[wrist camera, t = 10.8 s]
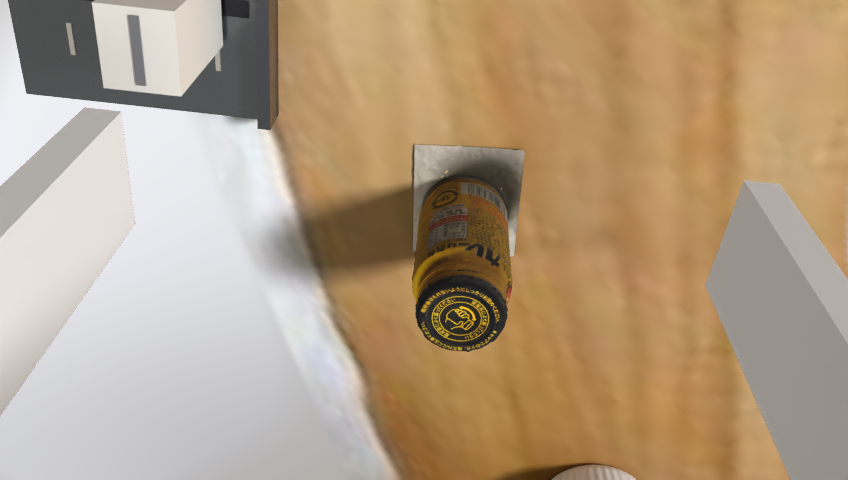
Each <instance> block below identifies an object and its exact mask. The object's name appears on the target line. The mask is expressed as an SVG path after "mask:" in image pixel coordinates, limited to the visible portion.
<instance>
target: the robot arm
mask: <svg viewBox="0 0 848 480" xmlns="http://www.w3.org/2000/svg"><path fill="white" fill-rule="evenodd" d="M134 225H135V217H134V209H133V201H132V193H131V186H130V177H129V170H128V162H127V154H126V146H125V138H124V131H123V123H122V116H121V112H119V111H110V110H101V109H91V108H84V109H82V110H81V111H80V112H79V113H78V114H77V115H76V116H75V117H74V118H73V119H72V120H71V121H70V122H69V123H68V124H66V125H65V126H64V127H63V128H62V129H61V130H60V131H59V132H58V133H57V134H56V135H55V136H54V137H53V138H52V139H50V140H49V141H48V142H47V143H46V144H45V145H44V146H43V147H42V148H41V149H40V150H39V151H38V152H36V154H34V155H33V156H32V157H31V158H30V159H29V160H28V161H27V162H26V163H25V164H24V165H23V166H21V167H20V169H18V170H17V171H16V172H15V173H14V174H13V175H12V176H11V177H10V178H9V179H8V180H7V181H5V182H4V183H3V184H2V185H1V186H0V416H1V414H2V413H3V411H4V410H5V409H6V407H7V406H8V404H9V403H10V401H11V400H12V399H13V397H14V396H15V394H16V393H17V392H18V390H19V389H20V387H21V386H22V384H23V383H24V382H25V380H26V379H27V377H28V376H29V374H30V373H31V372H32V370H33V369H34V367H35V366H36V364H37V363H38V362H39V360H40V359H41V357H42V356H43V355H44V353H45V352H46V350H47V349H48V347H49V346H50V345H51V343H52V342H53V340H54V339H55V337H56V336H57V335H58V333H59V332H60V330H61V329H62V327H63V326H64V325H65V323H66V322H67V320H68V319H69V317H70V316H71V315H72V313H73V312H74V310H75V309H76V308H77V306H78V305H79V303H80V302H81V300H82V299H83V297H84V296H85V295H86V293H87V292H88V290H89V289H90V288H91V286H92V285H93V283H94V282H95V280H96V279H97V277H98V276H99V275H100V273H101V272H102V270H103V269H104V268H105V266H106V265H107V263H108V262H109V260H110V259H111V258H112V256H113V255H114V253H115V252H116V250H117V249H118V248H119V246H120V245H121V243H122V242H123V241H124V239H125V238H126V236H127V235H128V233H129V232H130V230H131V229H132V228H133V226H134ZM705 286H706V288H707V290H708V293H709V295H710V297H711V300H712V302H713V304H714V306H715V309H716V311H717V313H718V316H719V318H720V320H721V322H722V325H723V327H724V329H725V332H726V334H727V336H728V338H729V341H730V343H731V345H732V348H733V350H734V352H735V354H736V357H737V359H738V361H739V363H740V366H741V368H742V370H743V373H744V375H745V377H746V379H747V382H748V384H749V386H750V389H751V391H752V393H753V395H754V398H755V400H756V402H757V405H758V407H759V409H760V411H761V414H762V416H763V418H764V421H765V423H766V425H767V427H768V430H769V432H770V434H771V436H772V439H773V441H774V443H775V446H776V448H777V450H778V452H779V455H780V457H781V459H782V462H783V464H784V466H785V468H786V471H787V473H788V475H789V478H790V480H848V279H847V278H846V276H845V275H844V273H843V272H842V271H841V269H840V268H839V266H838V265H837V264H836V262H835V261H834V259H833V258H832V256H831V255H830V254H829V252H828V251H827V249H826V248H825V247H824V245H823V244H822V242H821V241H820V240H819V238H818V237H817V235H816V234H815V233H814V231H813V230H812V228H811V227H810V226H809V224H808V223H807V221H806V220H805V219H804V217H803V216H802V214H801V213H800V212H799V210H798V209H797V207H796V206H795V204H794V203H793V202H792V200H791V199H790V197H789V196H788V195H787V193H786V192H785V190H784V189H783V188H782V186H781V185H780V184H773V183H764V182H755V181H746V180H744V182H743V185H742V187H741V190H740V193H739V196H738V198H737V201H736V204H735V206H734V209H733V212H732V214H731V217H730V220H729V223H728V225H727V228H726V231H725V233H724V236H723V239H722V242H721V244H720V247H719V250H718V252H717V255H716V258H715V261H714V263H713V266H712V269H711V271H710V274H709V277H708V279H707V282H706V285H705Z"/></svg>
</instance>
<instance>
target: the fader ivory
mask: <svg viewBox="0 0 848 480" xmlns="http://www.w3.org/2000/svg"><path fill="white" fill-rule="evenodd" d="M92 8H93V15H94V22H95V29H96V37H97V44H98V51H99V58H100V65H101V72H102V80H103V87H104V88H108V89H117V90H126V91H135V92H144V93H153V94H162V95H171V96H182V95H183V94H184V93H185V91H186V90H187V89H188V88H189V86H190V85H191V84H192V83H193V82H194V80H195V79H196V78H197V77H198V76H199V74H200V73H201V72H202V71H203V70H204V68H205V67H206V66H207V65H208V63H209V62H210V61H211V60H212V59H213V57H214V56H215V55H216V54H217V53H218V51H219V50H220V49H221V48H222V47H223V32H222V11H221V0H94V1H93V2H92Z"/></svg>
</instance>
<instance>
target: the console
mask: <svg viewBox="0 0 848 480" xmlns="http://www.w3.org/2000/svg"><path fill="white" fill-rule="evenodd" d="M93 1H94V0H8V3H9V8H10V12H11V18H12V23H13V28H14V33H15V38H16V43H17V48H18V53H19V58H20V63H21V68H22V73H23V78H24V83H25V88H26V93H27V94H36V95H44V96H54V97H63V98H71V99H82V100H90V101H99V102H108V103H117V104H126V105H135V106H144V107H154V108H163V109H172V110H181V111H190V112H199V113H208V114H217V115H226V116H235V117H244V118H253V119H258V129H266V130H271V128H272V126H273V124H274V122H275V120H276V118H277V116H278V0H221V11H222V32H223V47H222V48H221V49H220V50H219V51H218V53H217V54H216V55H215V56H214V57H213V59H212V60H211V61H210V62H209V63H208V65H207V66H206V67H205V68H204V70H203V71H202V72H201V73H200V74H199V76H198V77H197V78H196V79H195V80H194V82H193V83H192V84H191V85H190V86H189V88H188V89H187V90H186V91H185V93H184V94H183V95H182V96H171V95H162V94H153V93H144V92H135V91H126V90H117V89H108V88H104V87H103V80H102V72H101V65H100V58H99V51H98V44H97V37H96V29H95V22H94V15H93V8H92V2H93Z"/></svg>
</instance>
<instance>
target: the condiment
mask: <svg viewBox="0 0 848 480" xmlns="http://www.w3.org/2000/svg"><path fill="white" fill-rule="evenodd" d="M524 156H525V151H524V150H512V149H500V148H486V147H464V146H440V145H415V152H414V210H413V251H415V262H414V271H413V277H412V282H413V285H412V288H413V294H414V297H415V299H416V313H415V314H416V319H417V323H418V326H419V328H420V329H421V330H422V332H423V334H424V336H425V337H426V338H427V339H428V340H429V341H430V342H432V343H433V344H435V345H437V346H439V347H442V348H444V349H448V350H453V351H466V352H469V351H471V350H475V349H480V348H482V347H484V346H486V345H488V344H489V343H491V342H493V341H494V340H495V339H496V338H497V337H498V336H499V334H500V333H501V331H502V330H503V328H504V327H505V322H506V319H507V310H508V309H507V303H508V301H509V298H510V295H511V290H512V275H511V261H510V256H514V250H515V240H516V230H517V220H518V211H519V202H520V193H521V185H522V174H523V165H524ZM446 170H449V171H448V173H447V174H445V173H444V172H445V171H446ZM442 175H444V177H443V178H441V176H442ZM501 188H502V189H501Z"/></svg>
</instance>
